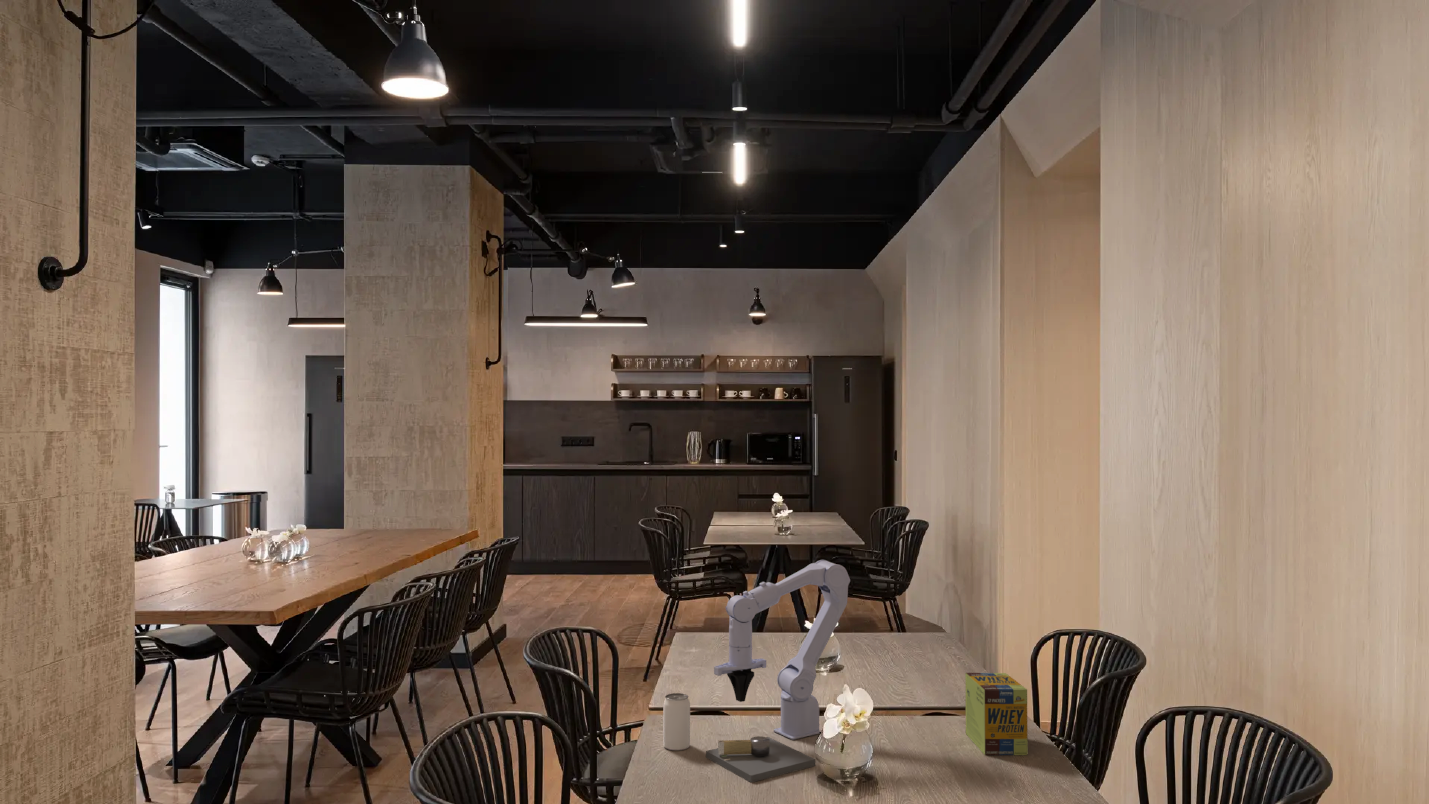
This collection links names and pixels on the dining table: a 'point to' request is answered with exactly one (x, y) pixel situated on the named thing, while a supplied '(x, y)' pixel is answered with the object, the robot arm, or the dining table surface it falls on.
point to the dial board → (763, 762)
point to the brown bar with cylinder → (745, 746)
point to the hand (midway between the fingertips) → (740, 700)
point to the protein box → (996, 714)
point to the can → (676, 722)
